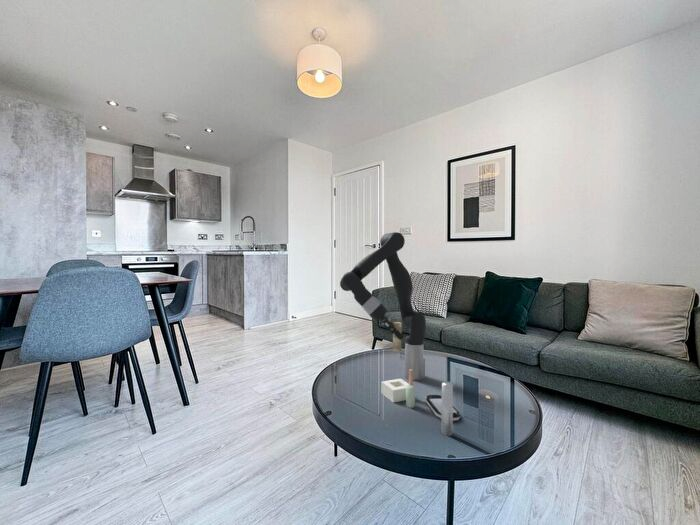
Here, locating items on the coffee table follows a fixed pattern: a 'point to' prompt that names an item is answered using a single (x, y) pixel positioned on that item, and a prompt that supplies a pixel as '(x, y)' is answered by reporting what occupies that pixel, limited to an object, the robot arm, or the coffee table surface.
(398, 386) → the socket block
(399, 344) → the birch pin
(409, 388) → the sage pin
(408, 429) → the coffee table surface
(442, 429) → the aluminium pin
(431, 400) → the gaming console
